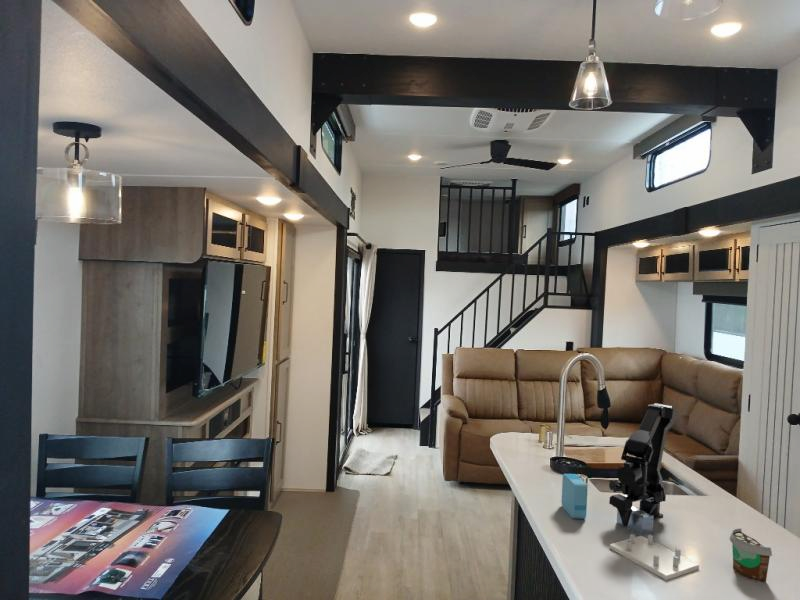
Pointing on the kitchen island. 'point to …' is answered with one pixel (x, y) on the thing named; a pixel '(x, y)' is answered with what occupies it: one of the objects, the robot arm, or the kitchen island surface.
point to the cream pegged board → (654, 556)
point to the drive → (638, 521)
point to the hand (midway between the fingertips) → (634, 524)
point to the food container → (749, 556)
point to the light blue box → (574, 496)
